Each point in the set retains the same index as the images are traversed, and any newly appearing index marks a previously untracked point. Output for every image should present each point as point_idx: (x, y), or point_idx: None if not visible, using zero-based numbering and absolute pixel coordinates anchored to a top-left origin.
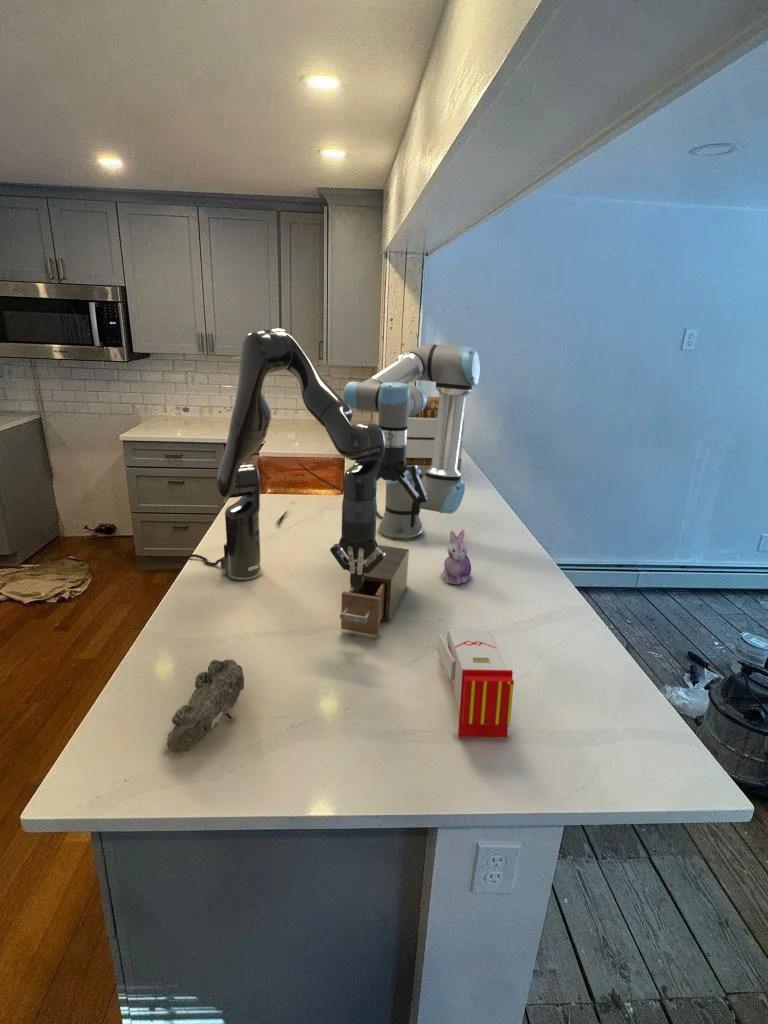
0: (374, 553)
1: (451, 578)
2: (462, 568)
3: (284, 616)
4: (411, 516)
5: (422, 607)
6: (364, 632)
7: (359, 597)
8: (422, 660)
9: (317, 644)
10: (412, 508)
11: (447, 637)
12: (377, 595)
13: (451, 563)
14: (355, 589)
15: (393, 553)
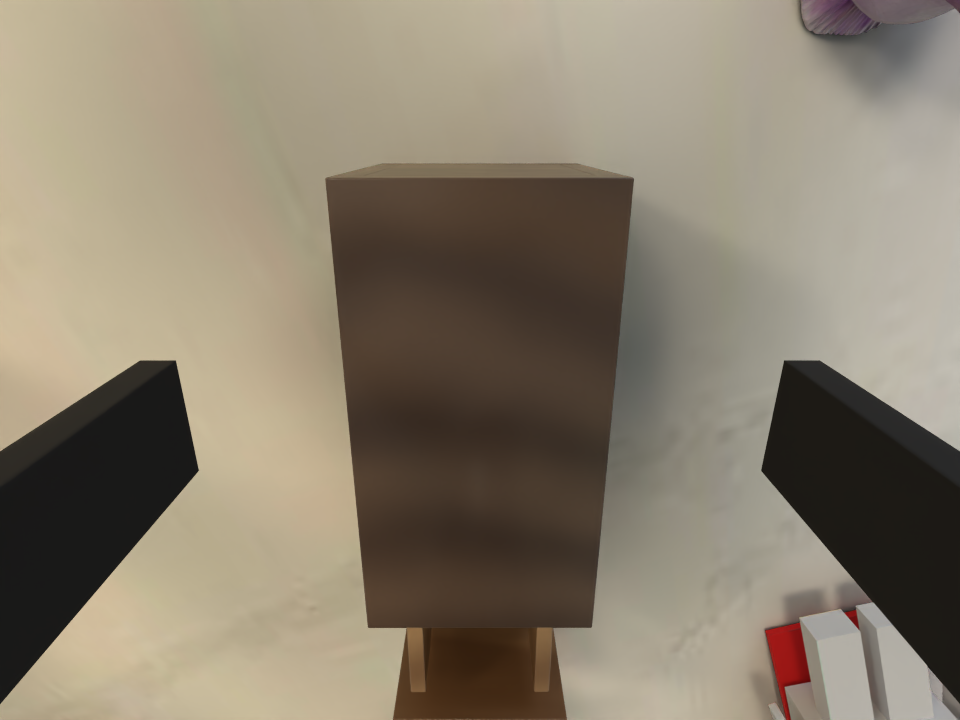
0: (400, 347)
1: (847, 14)
2: None
3: (184, 558)
4: (844, 561)
5: (678, 340)
6: None
7: None
8: (701, 640)
9: (372, 656)
10: (947, 672)
11: (803, 623)
12: (544, 689)
13: (914, 5)
14: (425, 643)
15: (531, 301)
